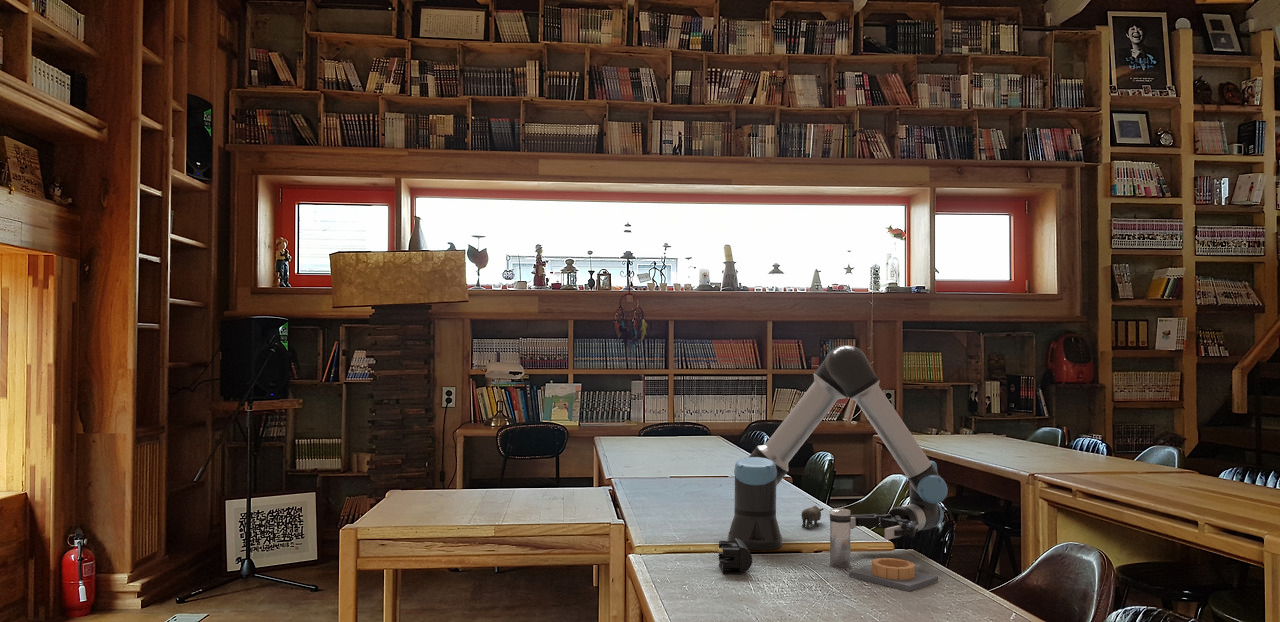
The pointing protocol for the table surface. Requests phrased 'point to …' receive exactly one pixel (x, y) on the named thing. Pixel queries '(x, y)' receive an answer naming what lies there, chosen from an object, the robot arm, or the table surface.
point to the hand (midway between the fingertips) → (862, 529)
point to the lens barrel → (840, 538)
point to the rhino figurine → (811, 516)
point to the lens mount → (894, 574)
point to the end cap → (734, 557)
